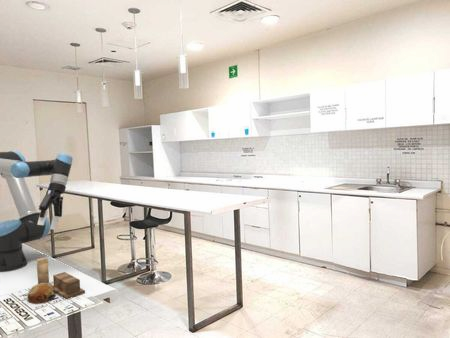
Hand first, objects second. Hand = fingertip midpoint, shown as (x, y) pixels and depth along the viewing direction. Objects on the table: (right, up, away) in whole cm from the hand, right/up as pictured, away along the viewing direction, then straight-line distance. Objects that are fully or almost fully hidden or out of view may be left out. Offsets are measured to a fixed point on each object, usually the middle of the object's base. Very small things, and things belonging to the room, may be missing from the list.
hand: (47, 227), depth 164 cm
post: (+3, -24, -9) cm, 26 cm away
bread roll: (+10, -26, -22) cm, 35 cm away
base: (+16, -25, -16) cm, 34 cm away
